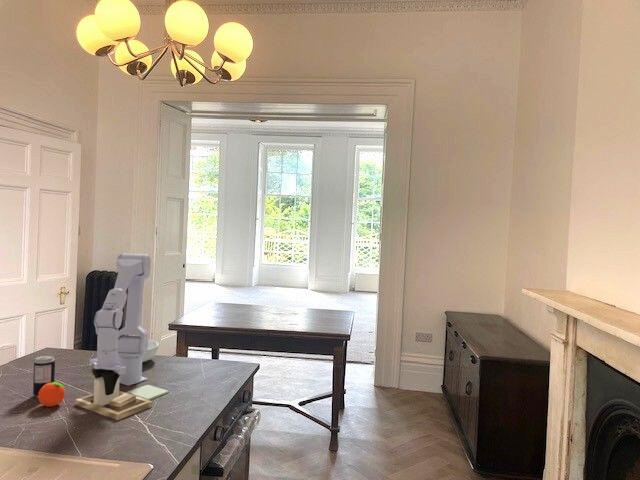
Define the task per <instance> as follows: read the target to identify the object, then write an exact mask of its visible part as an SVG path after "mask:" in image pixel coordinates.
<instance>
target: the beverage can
mask: <svg viewBox="0 0 640 480" xmlns="http://www.w3.org/2000/svg"><path fill="white" fill-rule="evenodd" d="M54 357H55V356H54V355H53V354H52V355H51V354H44V355H38V356H36V357H35V359H34V362H33V379H32V381H33V387H32V390H33V391H32V395H33V396H34V397H36V398H37V399H38V393H39V391H40V389H41V388H42V387H43V386H44V385H45V384H47V383H50V382H56V377H55V376H56V373H55V372H56V359H55V358H54Z"/></svg>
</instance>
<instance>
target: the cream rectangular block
mask: <svg viewBox="0 0 640 480" xmlns="http://www.w3.org/2000/svg"><path fill="white" fill-rule="evenodd" d="M93 381H94V383H93V394H94V400H93V403H94V404H97V405H99V406H102V407H105V406H106V405H107V406H108V405H109V401H110V400H112V399H114V398H116V397H119V391H120V383H119V378H118V380H117V382H116V385H115V389H114V392H113V394H110V395H106V393H105V383H104V379H103V377H100V378H97V379H96V378H94V379H93Z"/></svg>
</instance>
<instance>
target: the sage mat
mask: <svg viewBox="0 0 640 480" xmlns="http://www.w3.org/2000/svg"><path fill="white" fill-rule="evenodd" d="M125 393H128V394H132V395H136V396H137V397H141V398H144V399H147V400H150V401H152V400H154V399H156V398H159V397H162V396H163V395H166V394H167V395H168V394H169V393H170V391H169V390H167V389H163V388H160V387H157V386H154V385H151V384H146V385H143V386H140V387H137V388H133V389H131V390H128V391H126V392H125Z"/></svg>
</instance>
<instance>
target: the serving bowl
mask: <svg viewBox="0 0 640 480" xmlns="http://www.w3.org/2000/svg"><path fill="white" fill-rule="evenodd" d="M158 349H159V343H158V341H155V340H153V339H148V348H147V351H146V353H145V354H144V355H142V363H146V362H148V361H150V360H151V359H152V358H154V357H155V356H156V355H157V352H158Z"/></svg>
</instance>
